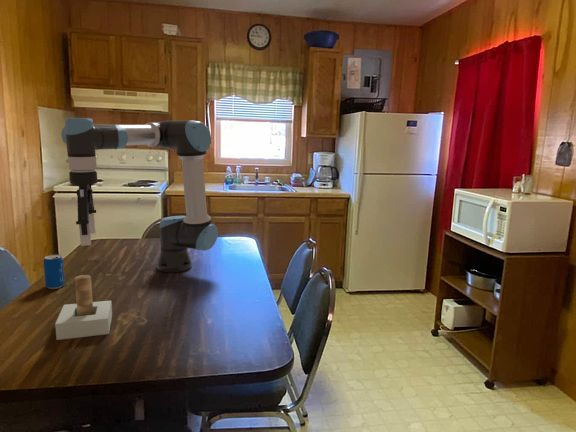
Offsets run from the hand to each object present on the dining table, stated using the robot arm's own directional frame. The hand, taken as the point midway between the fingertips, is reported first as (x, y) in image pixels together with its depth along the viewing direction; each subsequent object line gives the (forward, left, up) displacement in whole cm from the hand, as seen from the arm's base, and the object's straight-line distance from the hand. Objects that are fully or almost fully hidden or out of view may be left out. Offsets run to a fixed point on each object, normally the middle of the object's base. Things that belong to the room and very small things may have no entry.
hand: (88, 239), depth 129 cm
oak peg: (+2, +5, -27) cm, 27 cm away
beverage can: (+17, -34, -27) cm, 47 cm away
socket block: (+2, +5, -27) cm, 27 cm away
